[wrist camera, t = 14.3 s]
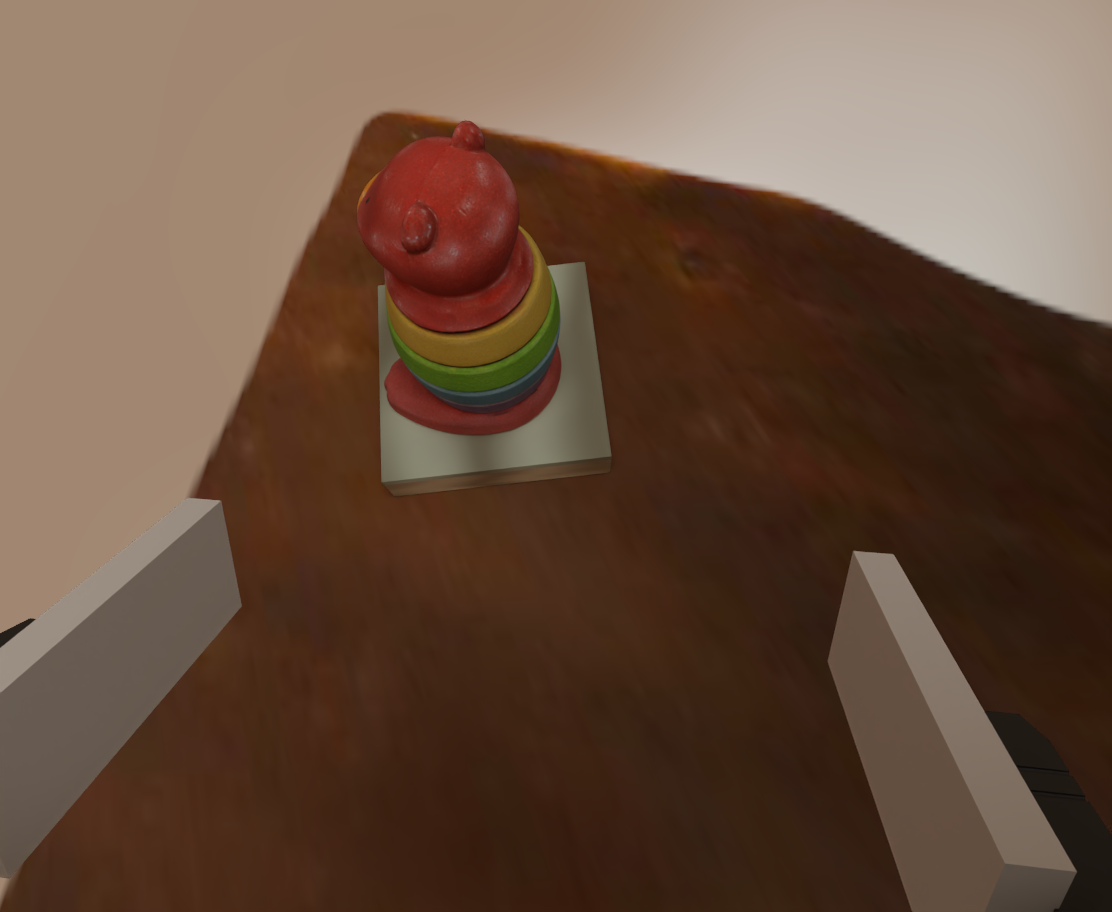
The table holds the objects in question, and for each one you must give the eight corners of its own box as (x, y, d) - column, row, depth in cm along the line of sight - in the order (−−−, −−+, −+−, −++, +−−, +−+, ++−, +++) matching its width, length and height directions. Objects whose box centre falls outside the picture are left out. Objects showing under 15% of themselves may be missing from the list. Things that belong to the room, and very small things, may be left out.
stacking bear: (462, 272, 48) (393, 36, 32) (595, 332, 46) (597, 114, 29) (374, 402, 45) (246, 218, 29) (512, 473, 43) (461, 319, 26)
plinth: (584, 286, 51) (584, 261, 48) (610, 472, 46) (611, 456, 43) (389, 309, 51) (377, 285, 48) (394, 496, 46) (381, 482, 43)
